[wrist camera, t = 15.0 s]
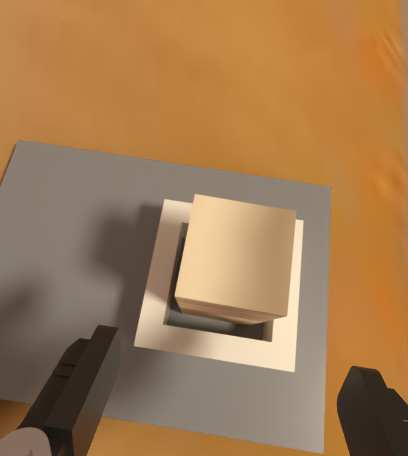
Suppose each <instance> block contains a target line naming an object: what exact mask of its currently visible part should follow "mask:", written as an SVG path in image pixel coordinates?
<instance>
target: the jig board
mask: <svg viewBox="0 0 408 456" xmlns="http://www.w3.org/2000/svg"><path fill="white" fill-rule="evenodd" d="M195 194H198V195H204V196H210V197H216V198H222V199H228V200H234V201H239V202H245V203H251V204H257V205H263V206H269V207H275V208H280V209H286V210H292V211H296V222H295V233H294V245H293V256H292V267H291V279H290V290H289V302H288V313H287V316H286V317H282V318H278V319H274V320H269V321H265V322H261V323H257V324H253V325H248V326H246V325H240V324H235V323H229V322H224V321H218V320H212V319H207V318H201V317H196V316H190V315H185V314H183V313H182V311H181V309H180V307H179V305H178V303H177V300H176V298H175V291H176V286H177V281H178V276H179V271H180V266H181V261H182V256H183V251H184V246H185V241H186V236H187V231H188V226H189V221H190V216H191V211H192V206H193V201H194V196H195ZM330 216H331V187H329V186H322V185H315V184H309V183H302V182H295V181H289V180H282V179H276V178H269V177H262V176H256V175H249V174H242V173H236V172H229V171H223V170H216V169H209V168H203V167H196V166H189V165H183V164H176V163H170V162H163V161H156V160H150V159H143V158H137V157H130V156H123V155H117V154H110V153H103V152H97V151H90V150H84V149H77V148H70V147H64V146H57V145H50V144H44V143H37V142H31V141H24V140H18V142H17V145H16V147H15V150H14V153H13V155H12V158H11V160H10V163H9V165H8V168H7V170H6V173H5V176H4V178H3V181H2V183H1V186H0V399H2V400H8V401H14V402H20V403H26V404H32V405H33V403H34V402H35V400H36V398H37V397H38V395H39V393H40V392H41V390H42V389H43V387H44V385H45V384H46V382H47V380H48V379H49V377H51V374H52V372H53V370H54V369H55V367H56V365H58V362H59V360H60V359H61V357H62V355H63V354H64V352H65V350H66V349H67V348H68V347H69V346H70V345H72V344H73V343H74V342H75V341H77V340H78V339H79V338H83V339H89V340H90V338H91V336H92V335H93V333H94V331H95V329H96V327H97V326H98V325H104V326H111V327H117V328H120V329H121V357H120V366H119V370H118V374H117V377H116V380H115V382H114V385H113V388H112V390H111V393H110V395H109V398H108V401H107V403H106V406H105V408H104V411H103V414H102V416H103V417H109V418H115V419H121V420H127V421H133V422H138V423H144V424H150V425H156V426H162V427H168V428H174V429H180V430H186V431H192V432H198V433H204V434H210V435H216V436H222V437H227V438H233V439H239V440H245V441H251V442H257V443H263V444H269V445H275V446H281V447H287V448H293V449H299V450H305V451H311V452H316V453H322V454H323V444H324V412H325V379H326V347H327V314H328V282H329V249H330Z"/></svg>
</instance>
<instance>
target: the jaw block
mask: <svg viewBox="0 0 408 456" xmlns="http://www.w3.org/2000/svg"><path fill="white" fill-rule="evenodd" d="M295 222H296V211H292V210H286V209H280V208H275V207H269V206H263V205H257V204H251V203H245V202H239V201H234V200H228V199H222V198H216V197H210V196H204V195H198V194H195V196H194V201H193V206H192V211H191V216H190V221H189V226H188V231H187V236H186V241H185V246H184V251H183V256H182V261H181V266H180V271H179V276H178V281H177V286H176V291H175V298H176V300H177V303H178V305H179V307H180V309H181V311H182V313H183V314H185V315H190V316H196V317H201V318H207V319H212V320H218V321H224V322H229V323H235V324H240V325H246V326H248V325H253V324H257V323H261V322H265V321H269V320H274V319H278V318H282V317H286V316H287V313H288V302H289V290H290V279H291V267H292V256H293V245H294V233H295Z"/></svg>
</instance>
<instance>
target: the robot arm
mask: <svg viewBox="0 0 408 456" xmlns="http://www.w3.org/2000/svg"><path fill="white" fill-rule="evenodd" d="M120 357H121V329H120V328H117V327H111V326H104V325H98V326H97V327H96V329H95V331H94V333H93V335H92V336H91V338H90V340H89V339H83V338H79V339H78V340H77V341H75V342H74V343H73V344H72V345H70V346H69V347H68V348H67V349H66V350H65V352H64V354H63V355H62V357H61V359H60V360H59V362H58V365H56V367H55V369H54V370H53V372H52V374H51V377H49V379H48V380H47V382H46V384H45V385H44V387H43V389H42V390H41V392H40V393H39V395H38V397H37V398H36V400H35V402H34V403H33V405H32V407H31V408H30V410H29V412H28V413H27V415H26V417H25V418H24V420H23V421H22V423H21V424H20V426H19V427H18V428H17V429H16V430H15V431H13V432H11V433H9V434H7V435H6V436H4V437H3V438H2V439H1V440H0V456H86V455H87V453H88V450H89V447H90V445H91V442H92V440H93V437H94V434H95V432H96V429H97V427H98V424H99V421H100V419H101V416H102V414H103V411H104V408H105V406H106V403H107V401H108V398H109V395H110V393H111V390H112V388H113V385H114V382H115V380H116V377H117V374H118V370H119V366H120ZM337 412H338V416H339V419H340V423H341V426H342V430H343V433H344V436H345V440H346V443H347V446H348V450H349V453H350V456H408V405H407V404H406V402H405V401H404V400H403V399H402V398H401V397H400V396H399V394H398V393H397V392H396V391H395V390H394V389H390V388H387V386H386V384H385V382H384V380H383V378H382V376H381V374H380V372H379V371H378V370H376V369H370V368H364V367H357V366H352V367H351V368H350V370H349V372H348V375H347V377H346V379H345V381H344V383H343V385H342V388H341V390H340V392H339V394H338V398H337Z"/></svg>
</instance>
